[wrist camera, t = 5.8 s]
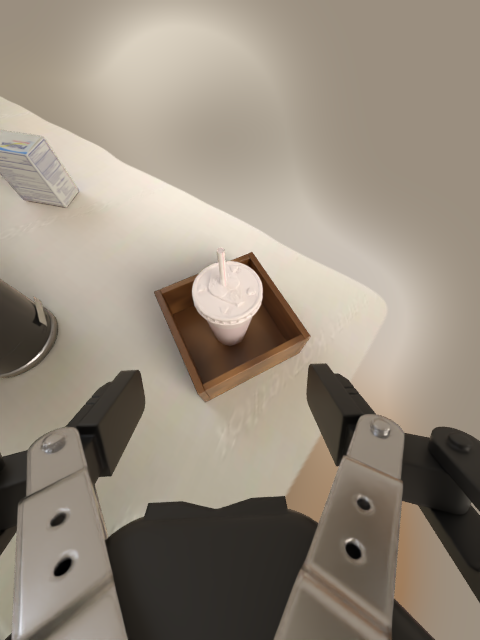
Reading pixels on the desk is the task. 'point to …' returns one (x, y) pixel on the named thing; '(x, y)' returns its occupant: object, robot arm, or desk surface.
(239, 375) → the wooden box
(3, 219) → the desk surface
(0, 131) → the medicine box
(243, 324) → the smoothie
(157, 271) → the desk surface
